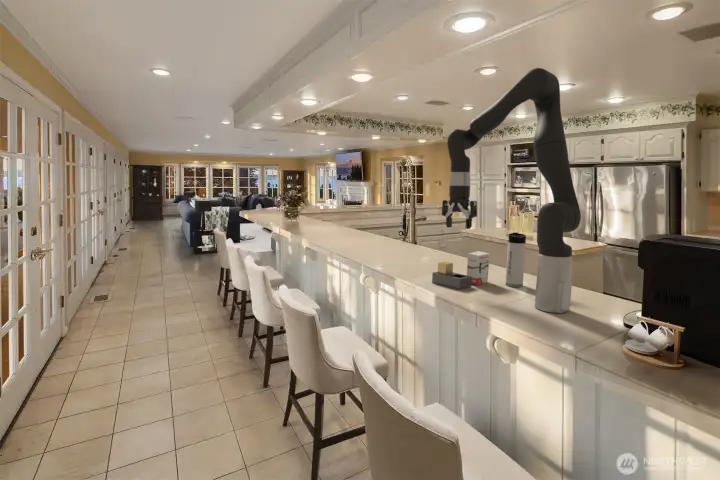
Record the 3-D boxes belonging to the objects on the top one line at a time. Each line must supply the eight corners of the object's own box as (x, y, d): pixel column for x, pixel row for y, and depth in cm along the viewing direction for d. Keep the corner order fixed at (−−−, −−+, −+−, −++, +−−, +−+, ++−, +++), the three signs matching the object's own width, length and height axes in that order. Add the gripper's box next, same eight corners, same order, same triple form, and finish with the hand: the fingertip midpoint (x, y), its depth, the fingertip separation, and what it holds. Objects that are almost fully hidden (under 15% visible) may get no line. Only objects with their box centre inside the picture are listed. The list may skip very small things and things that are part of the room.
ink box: (477, 285, 157) (478, 255, 155) (465, 283, 160) (467, 253, 158) (488, 282, 163) (490, 252, 161) (477, 279, 166) (478, 250, 164)
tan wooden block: (452, 283, 160) (453, 263, 158) (445, 284, 157) (446, 264, 156) (444, 281, 163) (444, 261, 162) (437, 282, 160) (438, 262, 159)
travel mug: (519, 283, 161) (523, 232, 158) (524, 287, 154) (528, 234, 152) (503, 282, 162) (506, 232, 159) (507, 287, 155) (511, 234, 152)
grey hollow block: (470, 286, 155) (471, 276, 154) (459, 289, 150) (459, 279, 150) (443, 280, 165) (444, 270, 164) (432, 282, 160) (432, 272, 160)
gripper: (482, 184, 150) (480, 228, 152) (450, 185, 161) (449, 226, 163) (470, 184, 145) (468, 230, 147) (438, 184, 156) (437, 227, 158)
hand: (458, 228), depth 155 cm, fingers open, 8 cm apart
